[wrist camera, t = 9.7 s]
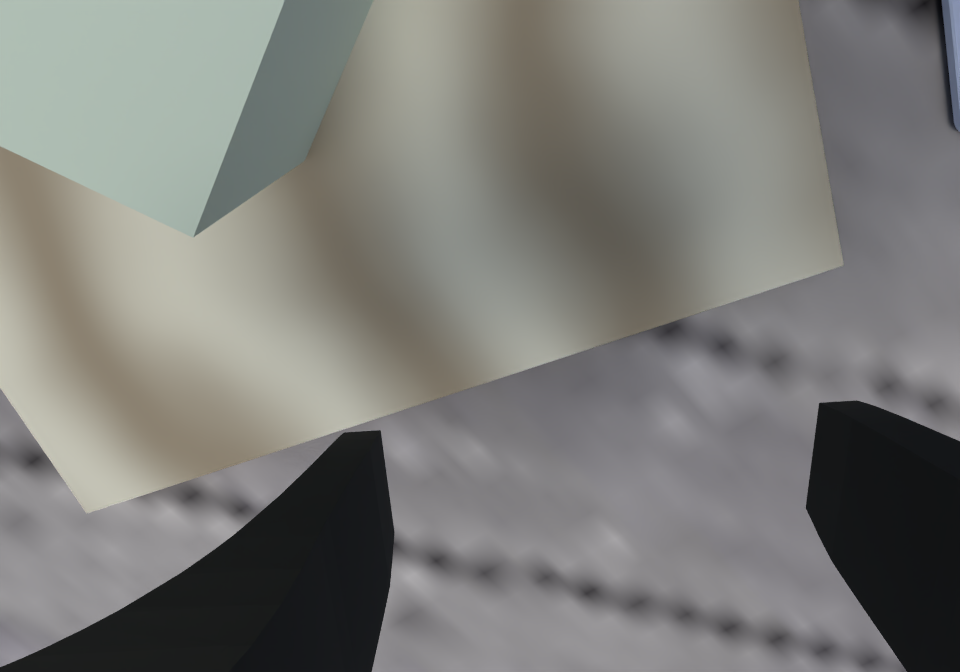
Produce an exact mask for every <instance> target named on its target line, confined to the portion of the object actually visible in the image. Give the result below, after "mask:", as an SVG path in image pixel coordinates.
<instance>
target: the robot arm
mask: <svg viewBox="0 0 960 672" xmlns="http://www.w3.org/2000/svg"><path fill="white" fill-rule="evenodd" d="M942 10H943V20H944V29H945V39H946V49H947V59H948V69H949V78H950V88H951V98H952V108H953V118H954V124H955V127H956V129H957V130H958V131H959V132H960V0H942ZM806 509H807V511H808V514H809V516H810V518H811V520H812V522H813V524H814V526H815V529H816V531H817V533H818V535H819V537H820V539H821V541H822V543H823V545H824V547H825V549H826V551H827V553H828V555H829V557H830V559H831V560H832V562H833V564H834V565H835V567H836V568H837V570H838V571H839V573H840V574H841V576H842V577H843V579H844V580H845V582H846V583H847V585H848V586H849V588H850V589H851V591H852V592H853V594H854V595H855V597H856V598H857V599H858V601H859V602H860V604H861V605H862V607H863V608H864V610H865V611H866V613H867V614H868V616H869V617H870V618H871V620H872V621H873V623H874V624H875V626H876V627H877V629H878V630H879V631H880V633H881V634H882V636H883V637H884V639H885V640H886V642H887V643H888V645H889V646H890V647H891V649H892V650H893V652H894V653H895V655H896V656H897V658H898V659H899V661H900V662H901V663H902V665H903V666H904V668H905V669H906V671H907V672H960V441H958V440H955V439H953V438H951V437H948V436H946V435H944V434H941V433H939V432H937V431H934V430H932V429H930V428H927V427H925V426H923V425H920V424H918V423H916V422H913V421H911V420H909V419H906V418H904V417H901V416H899V415H896V414H894V413H891V412H889V411H886V410H884V409H881V408H879V407H876V406H873V405H870V404H867V403H863V402H860V401H843V402H827V403H819V409H818V417H817V425H816V432H815V440H814V448H813V456H812V464H811V471H810V479H809V487H808V495H807V503H806ZM393 544H394V526H393V519H392V511H391V504H390V497H389V489H388V482H387V475H386V467H385V460H384V453H383V445H382V438H381V431H380V430H379V431H363V432H347V433H343V434H342V435H341V436H340V437H339V438H338V439H337V440H336V441H335V442H334V443H333V444H332V445H331V446H330V447H329V448H328V449H327V450H326V451H325V452H324V453H323V454H322V455H321V456H320V457H319V458H318V459H317V460H316V461H315V462H314V463H313V464H312V465H311V466H310V467H309V468H308V469H307V470H306V471H305V472H304V473H303V474H302V475H301V476H300V477H299V478H298V479H296V480H295V481H294V482H293V483H292V484H291V485H290V486H289V487H288V488H287V489H286V490H285V491H284V492H283V493H282V494H281V495H280V496H279V497H278V498H276V499H275V500H274V501H273V502H272V503H271V504H269V505H268V506H267V507H266V508H265V509H264V510H263V511H261V512H260V513H259V514H258V515H257V516H256V517H254V518H253V519H252V520H251V521H250V522H249V523H248V524H246V525H245V526H244V527H243V528H242V529H241V530H239V531H238V532H237V533H236V534H234V535H233V536H232V537H231V538H229V539H228V540H227V541H225V542H224V543H223V544H221V545H220V546H219V547H217V548H216V549H215V550H213V551H212V552H210V553H209V554H208V555H206V556H205V557H203V558H202V559H201V560H199V561H198V562H196V563H195V564H193V565H192V566H191V567H189V568H188V569H186V570H185V571H183V572H182V573H180V574H179V575H177V576H175V577H174V578H172V579H170V580H169V581H167V582H165V583H164V584H162V585H160V586H159V587H157V588H156V589H154V590H152V591H151V592H149V593H147V594H146V595H144V596H142V597H141V598H139V599H137V600H136V601H134V602H132V603H131V604H129V605H127V606H126V607H124V608H122V609H120V610H119V611H117V612H115V613H113V614H111V615H109V616H108V617H106V618H104V619H102V620H100V621H98V622H96V623H94V624H92V625H90V626H89V627H87V628H85V629H83V630H81V631H79V632H77V633H75V634H73V635H71V636H69V637H66V638H64V639H62V640H60V641H58V642H56V643H54V644H52V645H50V646H48V647H46V648H44V649H42V650H39V651H37V652H35V653H33V654H31V655H29V656H26V657H24V658H22V659H19V660H17V661H15V662H12V663H10V664H7V665H5V666H3V667H0V672H372V667H373V663H374V658H375V654H376V649H377V644H378V640H379V635H380V631H381V626H382V621H383V617H384V612H385V607H386V603H387V598H388V593H389V588H390V579H391V568H392V557H393Z"/></svg>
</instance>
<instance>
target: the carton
mask: <svg viewBox="0 0 960 672" xmlns="http://www.w3.org/2000/svg"><path fill="white" fill-rule="evenodd" d="M372 2H373V0H0V146H1V147H3V148H5V149H7V150H9V151H11V152H14V153H16V154H18V155H20V156H22V157H24V158H26V159H28V160H30V161H32V162H35V163H37V164H39V165H41V166H43V167H45V168H47V169H49V170H51V171H54V172H56V173H58V174H60V175H62V176H64V177H66V178H68V179H70V180H72V181H75V182H77V183H79V184H81V185H83V186H85V187H87V188H89V189H91V190H93V191H96V192H98V193H100V194H102V195H104V196H106V197H108V198H110V199H112V200H115V201H117V202H119V203H121V204H123V205H125V206H127V207H129V208H131V209H133V210H136V211H138V212H140V213H142V214H144V215H146V216H148V217H150V218H152V219H155V220H157V221H159V222H161V223H163V224H165V225H167V226H169V227H171V228H173V229H176V230H178V231H180V232H182V233H184V234H186V235H188V236H190V237H192V238H193V237H195V236H196V235H198V234H199V233H201V232H202V231H204V230H205V229H206V228H208V227H209V226H211V225H212V224H214V223H215V222H217V221H218V220H219V219H221V218H222V217H224V216H225V215H227V214H228V213H230V212H231V211H233V210H234V209H235V208H237V207H238V206H240V205H241V204H243V203H244V202H246V201H247V200H248V199H250V198H251V197H253V196H254V195H256V194H257V193H259V192H260V191H261V190H263V189H264V188H266V187H267V186H269V185H270V184H272V183H273V182H274V181H276V180H277V179H279V178H280V177H282V176H283V175H285V174H286V173H288V172H289V171H290V170H292V169H293V168H295V167H296V166H298V165H299V164H301V163H302V162H303V161H305V159H306V156H307V154H308V152H309V149H310V147H311V145H312V142H313V140H314V138H315V135H316V133H317V131H318V128H319V126H320V124H321V121H322V119H323V117H324V114H325V112H326V110H327V107H328V105H329V103H330V100H331V98H332V96H333V93H334V91H335V89H336V86H337V84H338V82H339V79H340V77H341V75H342V72H343V70H344V68H345V65H346V63H347V61H348V58H349V56H350V54H351V51H352V49H353V47H354V44H355V42H356V40H357V37H358V35H359V33H360V30H361V28H362V26H363V23H364V21H365V19H366V16H367V14H368V12H369V9H370V7H371V5H372Z"/></svg>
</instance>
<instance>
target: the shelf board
mask: <svg viewBox="0 0 960 672" xmlns="http://www.w3.org/2000/svg"><path fill="white" fill-rule="evenodd" d="M841 266H844V264H843V258H842V252H841V246H840V240H839V235H838V229H837V223H836V217H835V211H834V205H833V200H832V194H831V188H830V182H829V176H828V170H827V165H826V159H825V153H824V147H823V141H822V135H821V130H820V124H819V118H818V112H817V106H816V100H815V95H814V89H813V83H812V77H811V71H810V65H809V59H808V54H807V48H806V42H805V36H804V30H803V24H802V19H801V13H800V7H799V1H798V0H373V2H372V5H371V7H370V9H369V12H368V14H367V16H366V19H365V21H364V23H363V26H362V28H361V30H360V33H359V35H358V37H357V40H356V42H355V44H354V47H353V49H352V51H351V54H350V56H349V58H348V61H347V63H346V65H345V68H344V70H343V72H342V75H341V77H340V79H339V82H338V84H337V86H336V89H335V91H334V93H333V96H332V98H331V100H330V103H329V105H328V107H327V110H326V112H325V114H324V117H323V119H322V121H321V124H320V126H319V128H318V131H317V133H316V135H315V138H314V140H313V142H312V145H311V147H310V149H309V152H308V154H307V156H306V159H305V161H303V162H302V163H301V164H299V165H298V166H296V167H295V168H293V169H292V170H290V171H289V172H288V173H286V174H285V175H283V176H282V177H280V178H279V179H277V180H276V181H274V182H273V183H272V184H270V185H269V186H267V187H266V188H264V189H263V190H261V191H260V192H259V193H257V194H256V195H254V196H253V197H251V198H250V199H248V200H247V201H246V202H244V203H243V204H241V205H240V206H238V207H237V208H235V209H234V210H233V211H231V212H230V213H228V214H227V215H225V216H224V217H222V218H221V219H219V220H218V221H217V222H215V223H214V224H212V225H211V226H209V227H208V228H206V229H205V230H204V231H202V232H201V233H199V234H198V235H196V236H195V237H193V238H192V237H190V236H188V235H186V234H184V233H182V232H180V231H178V230H176V229H173V228H171V227H169V226H167V225H165V224H163V223H161V222H159V221H157V220H155V219H152V218H150V217H148V216H146V215H144V214H142V213H140V212H138V211H136V210H133V209H131V208H129V207H127V206H125V205H123V204H121V203H119V202H117V201H115V200H112V199H110V198H108V197H106V196H104V195H102V194H100V193H98V192H96V191H93V190H91V189H89V188H87V187H85V186H83V185H81V184H79V183H77V182H75V181H72V180H70V179H68V178H66V177H64V176H62V175H60V174H58V173H56V172H54V171H51V170H49V169H47V168H45V167H43V166H41V165H39V164H37V163H35V162H32V161H30V160H28V159H26V158H24V157H22V156H20V155H18V154H16V153H14V152H11V151H9V150H7V149H5V148H3V147H1V146H0V388H1V389H2V391H3V392H4V394H5V395H6V397H7V398H8V400H9V401H10V403H11V404H12V405H13V407H14V408H15V410H16V411H17V413H18V414H19V416H20V417H21V419H22V420H23V421H24V423H25V424H26V426H27V427H28V429H29V430H30V432H31V433H32V435H33V436H34V437H35V439H36V440H37V442H38V443H39V445H40V446H41V448H42V449H43V451H44V452H45V454H46V455H47V456H48V458H49V459H50V461H51V462H52V464H53V465H54V467H55V468H56V470H57V471H58V472H59V474H60V475H61V477H62V478H63V480H64V481H65V483H66V484H67V486H68V487H69V488H70V490H71V491H72V493H73V494H74V496H75V497H76V499H77V500H78V502H79V503H80V504H81V506H82V507H83V509H84V510H85V512H86V513H90V512H93V511H96V510H99V509H102V508H105V507H108V506H111V505H114V504H118V503H121V502H124V501H127V500H130V499H133V498H136V497H139V496H142V495H145V494H148V493H151V492H154V491H157V490H160V489H163V488H166V487H169V486H172V485H176V484H179V483H182V482H185V481H188V480H191V479H194V478H197V477H200V476H203V475H206V474H209V473H212V472H215V471H218V470H221V469H224V468H227V467H231V466H234V465H237V464H240V463H243V462H246V461H249V460H252V459H255V458H258V457H261V456H264V455H267V454H270V453H273V452H276V451H279V450H282V449H285V448H289V447H292V446H295V445H298V444H301V443H304V442H307V441H310V440H313V439H316V438H319V437H322V436H325V435H328V434H331V433H334V432H337V431H340V430H344V429H347V428H350V427H353V426H356V425H359V424H362V423H365V422H368V421H371V420H374V419H377V418H380V417H383V416H386V415H389V414H392V413H395V412H398V411H402V410H405V409H408V408H411V407H414V406H417V405H420V404H423V403H426V402H429V401H432V400H435V399H438V398H441V397H444V396H447V395H450V394H453V393H457V392H460V391H463V390H466V389H469V388H472V387H475V386H478V385H481V384H484V383H487V382H490V381H493V380H496V379H499V378H502V377H505V376H508V375H511V374H515V373H518V372H521V371H524V370H527V369H530V368H533V367H536V366H539V365H542V364H545V363H548V362H551V361H554V360H557V359H560V358H563V357H566V356H570V355H573V354H576V353H579V352H582V351H585V350H588V349H591V348H594V347H597V346H600V345H603V344H606V343H609V342H612V341H615V340H618V339H621V338H624V337H628V336H631V335H634V334H637V333H640V332H643V331H646V330H649V329H652V328H655V327H658V326H661V325H664V324H667V323H670V322H673V321H676V320H679V319H683V318H686V317H689V316H692V315H695V314H698V313H701V312H704V311H707V310H710V309H713V308H716V307H719V306H722V305H725V304H728V303H731V302H734V301H737V300H741V299H744V298H747V297H750V296H753V295H756V294H759V293H762V292H765V291H768V290H771V289H774V288H777V287H780V286H783V285H786V284H789V283H792V282H796V281H799V280H802V279H805V278H808V277H811V276H814V275H817V274H820V273H823V272H826V271H829V270H832V269H835V268H838V267H841Z"/></svg>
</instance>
